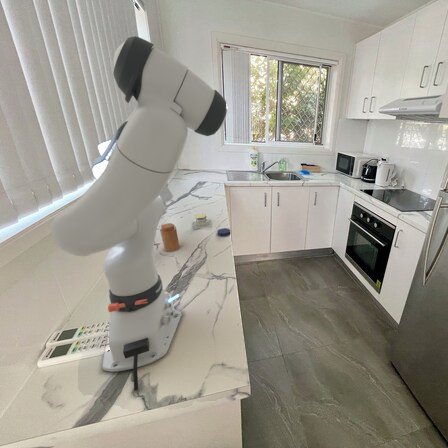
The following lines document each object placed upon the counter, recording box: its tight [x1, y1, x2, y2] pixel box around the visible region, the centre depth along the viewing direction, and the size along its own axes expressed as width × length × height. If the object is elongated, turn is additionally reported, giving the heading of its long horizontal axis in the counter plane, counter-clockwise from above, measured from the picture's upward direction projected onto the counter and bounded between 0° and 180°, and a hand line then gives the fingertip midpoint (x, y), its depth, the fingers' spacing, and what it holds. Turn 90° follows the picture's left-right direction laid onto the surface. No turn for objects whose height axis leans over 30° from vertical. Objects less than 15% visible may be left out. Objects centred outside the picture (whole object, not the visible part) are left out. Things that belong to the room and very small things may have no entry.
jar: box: [159, 222, 181, 253], centre depth 111 cm, size 6×6×12 cm
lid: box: [217, 227, 231, 238], centre depth 128 cm, size 7×6×2 cm
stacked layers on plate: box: [193, 212, 211, 230], centre depth 138 cm, size 10×9×6 cm
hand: (152, 217), depth 95 cm, fingers open, 8 cm apart
